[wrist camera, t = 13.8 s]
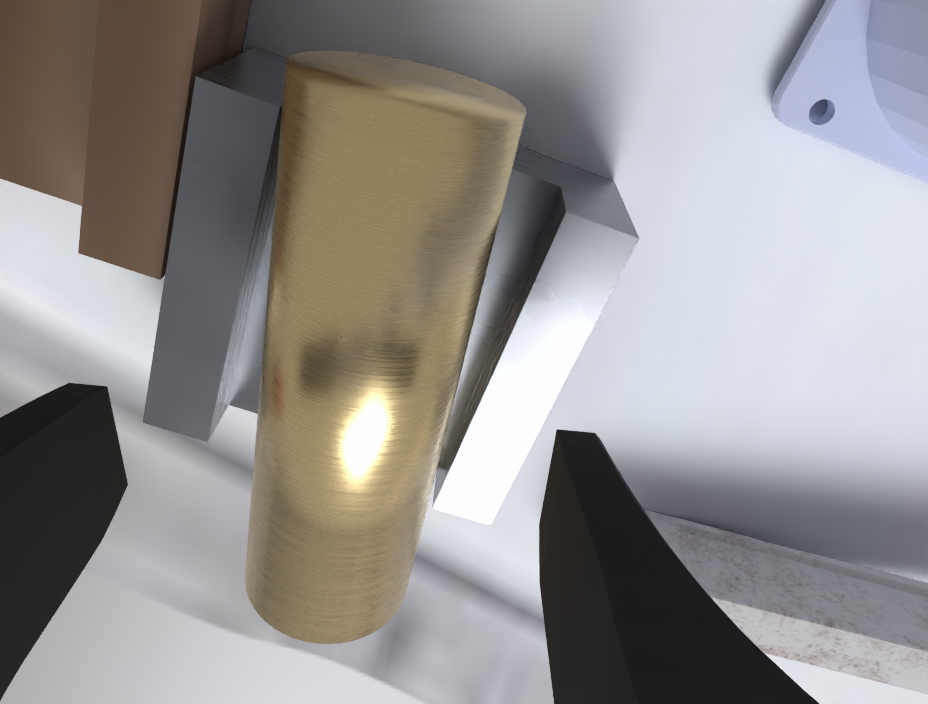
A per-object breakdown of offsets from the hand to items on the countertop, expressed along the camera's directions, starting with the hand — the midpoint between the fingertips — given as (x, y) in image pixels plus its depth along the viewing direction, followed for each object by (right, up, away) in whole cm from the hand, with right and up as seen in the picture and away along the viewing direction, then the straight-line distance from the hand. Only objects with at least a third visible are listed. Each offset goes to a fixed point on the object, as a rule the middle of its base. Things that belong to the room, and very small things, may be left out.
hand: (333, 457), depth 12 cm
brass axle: (0, +1, +3) cm, 3 cm away
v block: (0, +4, +6) cm, 7 cm away
